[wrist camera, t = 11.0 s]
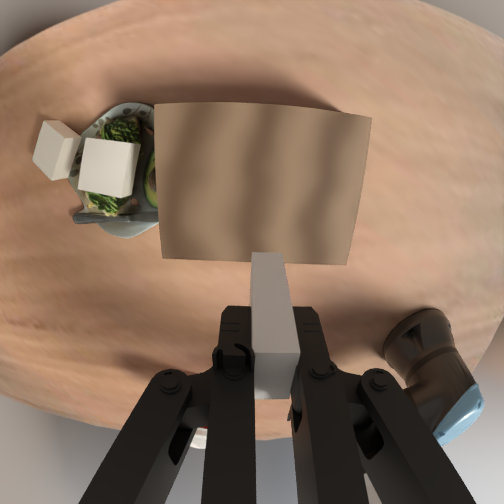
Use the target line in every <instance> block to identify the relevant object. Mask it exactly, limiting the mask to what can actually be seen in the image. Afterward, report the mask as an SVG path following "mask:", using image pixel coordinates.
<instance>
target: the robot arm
mask: <svg viewBox="0 0 504 504" xmlns="http://www.w3.org/2000/svg"><path fill="white" fill-rule="evenodd" d="M383 354H384V356H385V359H386V361H387V363H388V364H389V366H390V367H391V368H393V369H394V370H395V371H396V372H397V373H398V374H399V375H400V376H401V377H402V378H403V380H404V381H405V383H406V385H407V388H405V389H402V388H401V387H400V385H399V384H398V382H397V381H396V379H395V378H394V377H393V376H392V375H391V374H390V373H389V372H388V371H386V370H384V369H379V368H374V369H369V370H367V371H366V372H365V373H364V374H363V375H362V376H361V375H356V374H351V373H347V372H344V371H342V370H340V369H338V368H337V366H336V364H334V363H333V362H332V361H331V360H330V357H329V353H328V350H327V346H326V342H325V338H324V335H323V332H322V327H321V325H320V320H319V316H318V314H317V313H316V312H315V311H314V309H313V308H312V307H292V302H291V297H290V292H289V286H288V281H287V276H286V271H285V265H284V260H283V255H282V253H265V252H252V258H251V278H250V306H227V307H226V308H225V310H224V311H223V312H222V315H221V324H220V332H219V341H218V346H217V347H216V348H214V351H213V353H212V361H213V366H212V367H211V368H210V369H209V370H207V371H205V372H203V373H200V374H195V375H190V376H187V375H186V374H185V373H183V372H181V371H179V370H175V369H168V370H163V371H161V372H159V373H157V374H156V375H155V376H154V377H153V378H152V379H151V381H150V383H149V384H148V386H147V388H146V389H145V391H144V393H143V394H142V396H141V398H140V399H139V401H138V403H137V404H136V406H135V407H134V409H133V411H132V413H131V414H130V416H129V418H128V419H127V421H126V423H125V424H124V426H123V428H122V429H121V431H120V433H119V434H118V436H117V438H116V439H115V441H114V443H113V445H112V446H111V448H110V450H109V452H108V453H107V455H106V457H105V458H104V460H103V462H102V463H101V465H100V467H99V469H98V470H97V472H96V474H95V475H94V477H93V479H92V481H91V483H90V484H89V486H88V488H87V490H86V491H85V493H84V495H83V497H82V498H81V500H80V502H79V504H165V501H166V499H167V497H168V495H169V492H170V490H171V488H172V485H173V483H174V481H175V479H176V477H177V474H178V472H179V470H180V467H181V465H182V463H183V461H184V458H185V456H186V454H187V451H188V449H189V447H190V444H191V442H192V440H193V438H194V435H195V433H196V431H197V428H200V427H205V426H208V427H207V438H206V449H205V461H204V472H203V473H204V474H203V485H202V499H201V504H256V453H255V399H289V397H290V393H291V399H292V404H291V407H290V411H289V414H288V419H287V421H290V419H291V427H292V437H293V448H294V459H295V471H296V482H297V495H298V504H476V502H475V501H474V499H473V497H472V495H471V494H470V492H469V490H468V489H467V487H466V486H465V484H464V482H463V481H462V479H461V477H460V476H459V474H458V473H457V471H456V469H455V468H454V466H453V464H452V463H451V461H450V460H449V458H448V457H447V455H446V454H445V452H444V451H443V449H442V447H441V446H443V445H445V444H447V443H449V442H450V441H452V440H453V439H455V438H456V437H457V436H459V435H460V434H461V433H463V432H464V431H465V430H466V429H467V428H469V427H470V426H471V424H473V423H474V421H475V420H476V419H477V418H478V417H479V415H480V414H481V412H482V410H483V408H484V399H483V397H482V394H481V392H480V390H479V386H478V384H477V383H476V382H475V380H474V378H473V376H472V375H471V373H470V371H469V369H468V368H467V366H466V364H465V363H464V361H463V359H462V358H461V356H460V354H459V353H458V351H457V349H456V348H455V344H454V339H453V335H452V333H451V325H450V322H449V320H448V319H447V318H446V316H445V315H444V313H443V312H441V311H440V310H436V309H427V310H423V311H420V312H417V313H415V314H413V315H411V316H409V317H408V318H406V319H405V320H403V321H402V322H401V323H400V324H398V325H397V326H396V327H395V328H394V329H393V330H392V332H391V333H390V334H389V336H388V337H387V339H386V341H385V343H384V347H383Z"/></svg>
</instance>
